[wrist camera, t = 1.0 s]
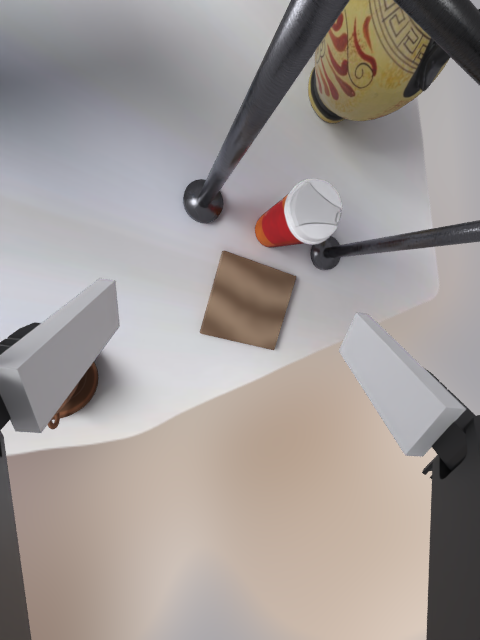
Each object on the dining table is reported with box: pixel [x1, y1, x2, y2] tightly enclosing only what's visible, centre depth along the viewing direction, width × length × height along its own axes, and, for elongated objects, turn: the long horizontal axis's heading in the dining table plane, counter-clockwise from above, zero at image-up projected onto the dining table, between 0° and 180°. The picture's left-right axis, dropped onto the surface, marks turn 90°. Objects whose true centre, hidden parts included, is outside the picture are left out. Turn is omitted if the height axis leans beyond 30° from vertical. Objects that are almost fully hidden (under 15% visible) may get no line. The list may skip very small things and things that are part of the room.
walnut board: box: [200, 251, 296, 350], centre depth 43 cm, size 14×14×1 cm
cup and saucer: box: [48, 362, 98, 429], centre depth 33 cm, size 12×12×6 cm
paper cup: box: [255, 179, 342, 247], centre depth 36 cm, size 8×8×14 cm
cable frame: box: [183, 0, 480, 270], centre depth 27 cm, size 30×6×33 cm, turn 73°
